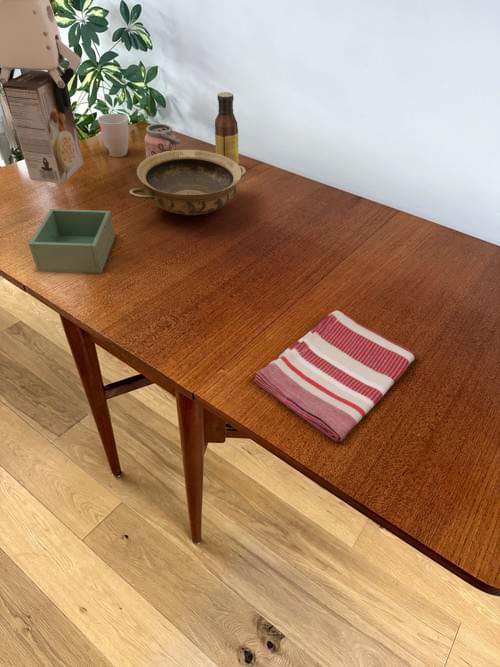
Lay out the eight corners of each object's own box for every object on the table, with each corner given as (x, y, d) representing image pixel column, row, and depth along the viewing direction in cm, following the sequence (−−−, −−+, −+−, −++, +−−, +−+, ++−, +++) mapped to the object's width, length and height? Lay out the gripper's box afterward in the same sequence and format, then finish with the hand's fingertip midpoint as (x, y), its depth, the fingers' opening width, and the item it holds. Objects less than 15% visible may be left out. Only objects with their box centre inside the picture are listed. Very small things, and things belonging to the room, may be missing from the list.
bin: (37, 272, 92) (28, 243, 88) (57, 235, 102) (50, 208, 98) (101, 274, 93) (95, 245, 88) (115, 237, 103) (110, 210, 98)
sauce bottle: (240, 167, 132) (242, 92, 119) (235, 176, 128) (236, 99, 114) (218, 164, 133) (218, 89, 120) (212, 173, 129) (211, 96, 115)
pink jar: (174, 163, 132) (171, 120, 124) (186, 175, 127) (184, 130, 119) (143, 169, 129) (138, 124, 120) (154, 181, 123) (150, 135, 115)
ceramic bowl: (154, 248, 100) (149, 206, 93) (115, 201, 115) (108, 162, 108) (269, 216, 113) (272, 177, 106) (221, 177, 127) (221, 140, 120)
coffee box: (53, 160, 90) (30, 68, 79) (84, 164, 90) (65, 72, 79) (29, 180, 84) (0, 83, 73) (62, 185, 83) (38, 87, 72)
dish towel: (250, 383, 73) (251, 372, 72) (334, 315, 87) (337, 304, 85) (338, 447, 66) (342, 436, 64) (416, 361, 79) (421, 350, 77)
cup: (110, 147, 139) (105, 112, 132) (136, 150, 138) (132, 115, 131) (99, 157, 133) (92, 121, 126) (125, 161, 132) (120, 125, 125)
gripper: (77, -21, 70) (98, 105, 82) (-41, -27, 69) (-2, 100, 81) (63, -14, 64) (88, 119, 77) (-65, -20, 64) (-19, 115, 76)
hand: (42, 109), depth 79 cm, fingers closed on coffee box, 7 cm apart
